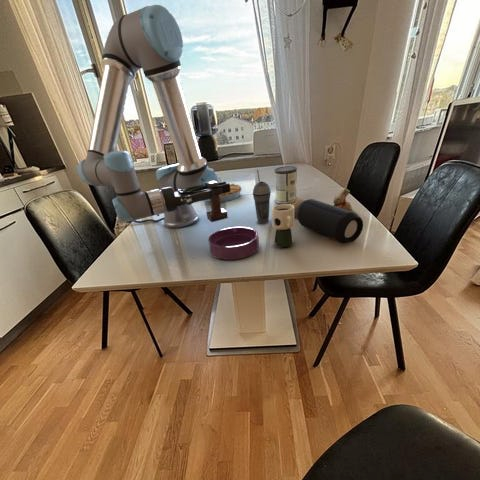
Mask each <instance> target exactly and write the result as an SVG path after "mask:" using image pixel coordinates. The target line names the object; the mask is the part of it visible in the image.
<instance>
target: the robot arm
mask: <svg viewBox="0 0 480 480" xmlns="http://www.w3.org/2000/svg"><path fill="white" fill-rule="evenodd" d="M183 47H184V40H183V36H182V32H181V29H180V26H179V24H178V21H177V20H176V18H175V17H174V15H173V14H172V13H171V12H169V10H168V9H167V8H166V7H165V6H163V5H161V4H151V5H146V6H144V7H141V8H139V9H137V10H135V11H132V12H129V13H127V14H123V15H121V16H119V17H118V18H117V19H116V20H115V21H114V23H113V24H112V26H111V28H110V30H109V32H108V35H107V37H106V40H105V43H104V48H103V51H102V56H101V61H100V64H101V67H102V69H103V72H102V76H101V82H100V88H99V92H98V97H97V98H98V99H97V102H96V108H95V111H94V112H95V113H94V117H93V122H92V127H91V132H90V137H89V142H88V146H87V147H88V148H87V153H86V158H85V159H82V160H80V161H79V163H78V165H77V173H78V176H79V179H80V180H82V181H83V182H84V183H85V184H87V185H90V186H94V187H102V186H103V187H110V188H111V187H112V188H113V189H114V191H115V194H116V197H115V198H112V204H113V208H114V210H115V213H116V215H117V218H118V220H119V221H120V222H121V223H128V224H131V223H132V222H133V223H136V224H142V223H146V222H153V223H159V222H161V221H163V223H164V226H165V227H166V228H169V229H170V228H171V229H180V228H185V227H189V226H193V225H194V224H195V223H197V222H198V220H199V218H198V214H197V212H196V211H195V208H194V206H193V204H195V203H198V202H210V201H209V200H210V199H211V198H212V199H214V196H215V195H219V194H223V193H228V192H231V191H230V184H231V183H229V182H228V183H227V182H226V181H220V182H219V179H218V175H217V172H216V171H215V169H213V168H211V167H209V165H208V161H207V159H206V158H205V157H203V156H202V155H201V151H200V147H199V145H198V140H197V136H196V134H195V130H194V126H193V122H192V120H191V115H190V111H189V108H188V105H187V101H186V97H185V94H184V90H183V86H182V83H181V79H180V76H179V75H180V71H181V69H182V64H181V60H180V59H181V57H182V56H183V53H184V52H183V51H184V49H183ZM139 70H142V71H143V74H144V77H145V79H147V80H148V81H150V82H151V83H152V86H153V89H154V92H155V95H156V98H157V101H158V104H159V106H160V107H159V108H160V109H161V112H162V116H163V119H164V121H165V125H166V128H167V131H168V133H169V137H170V139H171V142H172V146H173V149H174V152H175V154H176V158H177V160H178V163H174V164H170V165H166V166H162V167H160V168H158V169H157V170H156V171H155V175H156V181H157V184H158V188H156V189H151V190H147V191H143V192H142V190H141V187H140V184H139V179H138V176H137V172H136V169H135V164H134V163H133V160H132V157H131V155H130V153H129V152H128V151H126V150H116V149H117V146H118V140H119V135H120V131H121V126H122V122H123V116H124V112H125V107H126V101H127V98H128V93H129V89H130V85H132V84H133V83H134V81H135V78H136V75H137V73H138V71H139ZM211 181H216V182H217V184H218V186H214V187H211V188H209V189H208V185H207V182H211ZM226 183H227V184H226ZM162 214H163V215H164V216H163V217H162V218H159V219H153V218H152V219H151V217H154V216H156V217H160V215H162ZM145 218H150V219H145ZM143 219H144V220H143Z"/></svg>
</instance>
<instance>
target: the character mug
mask: <svg viewBox="0 0 480 480" xmlns="http://www.w3.org/2000/svg"><path fill="white" fill-rule="evenodd" d="M290 204H291V203H279V204H276V205H274V206H272V209H271V211H272V212H271V213H272V214H271V215H272V227H273V229H275V233H274V234H275V235H274V243H275V247H277V248H287V247H289V246H291V245H293V236H292V228H294V224H295V218H294V206H293V205H290Z"/></svg>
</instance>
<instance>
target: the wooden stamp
mask: <svg viewBox="0 0 480 480" xmlns="http://www.w3.org/2000/svg"><path fill="white" fill-rule="evenodd" d="M207 185H208V189H209V188H211V187H214V186H218V184H217V182H216V181H211V182H207ZM209 203H210V208H211V209H210V210H209V211H206V217H207V220H209V222H211V223H214V222H217V221H221V220H226V219H228V218H229V216H228V211H227V210H226V209H225V208H222V205H221V202H220V198H219V195H215V196H214V199H212V198H211V199H210V201H209Z"/></svg>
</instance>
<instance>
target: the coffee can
mask: <svg viewBox="0 0 480 480" xmlns="http://www.w3.org/2000/svg"><path fill="white" fill-rule="evenodd" d="M297 173H298V167H297V166H295V165H293V166H292V165H291V166H290V165H285V166H279V167H277V168H275V169H274V190H275V203H277V204H291V203H292V202H293V201H295V200H297V181H298V180H297V179H298V178H297V176H298V175H297Z"/></svg>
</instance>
